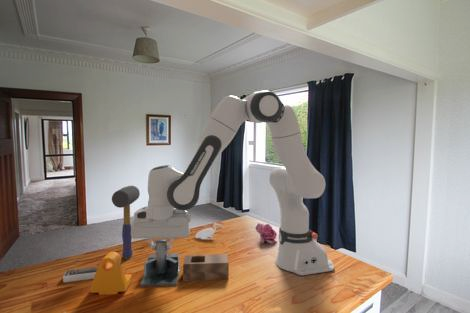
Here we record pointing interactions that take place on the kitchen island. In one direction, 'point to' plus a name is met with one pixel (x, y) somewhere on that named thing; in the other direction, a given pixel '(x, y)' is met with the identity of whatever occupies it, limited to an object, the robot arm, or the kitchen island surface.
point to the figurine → (206, 232)
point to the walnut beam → (205, 267)
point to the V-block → (164, 278)
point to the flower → (266, 233)
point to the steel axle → (161, 256)
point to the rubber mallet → (126, 215)
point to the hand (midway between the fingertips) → (161, 249)
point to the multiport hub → (79, 274)
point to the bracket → (110, 276)
